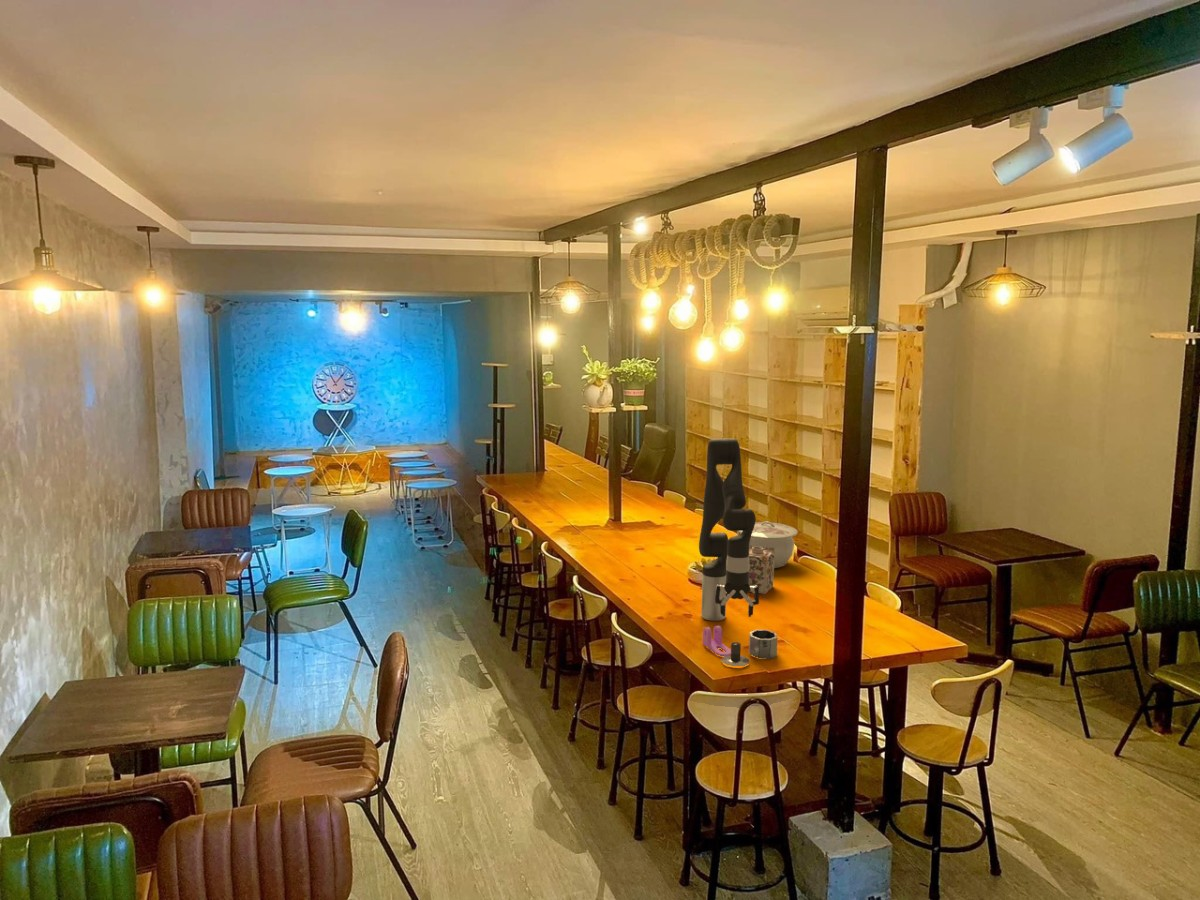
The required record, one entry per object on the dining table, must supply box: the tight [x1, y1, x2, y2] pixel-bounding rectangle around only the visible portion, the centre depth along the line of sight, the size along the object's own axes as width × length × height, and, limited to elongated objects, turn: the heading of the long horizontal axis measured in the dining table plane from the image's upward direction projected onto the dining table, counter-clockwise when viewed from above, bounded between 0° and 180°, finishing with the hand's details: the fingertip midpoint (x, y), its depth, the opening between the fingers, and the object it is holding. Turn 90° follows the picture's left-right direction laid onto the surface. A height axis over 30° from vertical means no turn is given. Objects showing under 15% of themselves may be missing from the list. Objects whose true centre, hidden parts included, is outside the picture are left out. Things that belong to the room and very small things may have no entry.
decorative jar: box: [748, 547, 775, 595], centre depth 351 cm, size 12×12×18 cm
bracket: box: [702, 625, 731, 656], centre depth 287 cm, size 13×6×7 cm, turn 20°
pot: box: [748, 629, 778, 660], centre depth 284 cm, size 13×9×7 cm
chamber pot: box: [736, 520, 799, 569], centre depth 384 cm, size 28×28×21 cm
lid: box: [721, 641, 750, 666], centre depth 277 cm, size 9×9×7 cm
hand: (736, 615), depth 275 cm, fingers open, 8 cm apart
